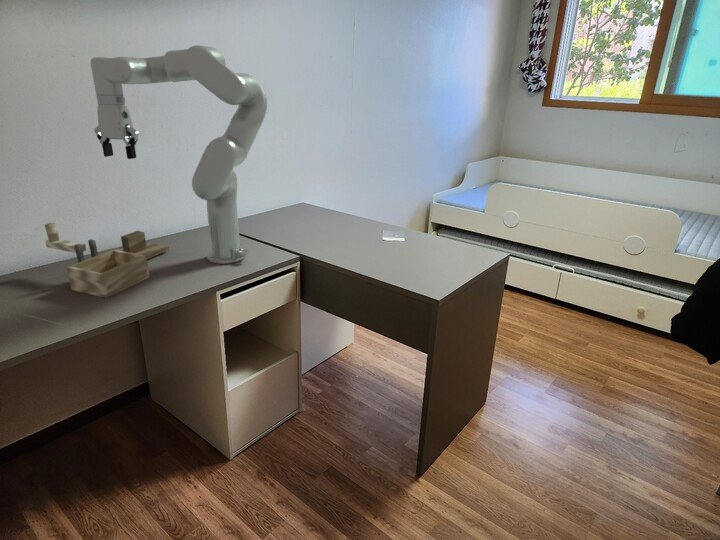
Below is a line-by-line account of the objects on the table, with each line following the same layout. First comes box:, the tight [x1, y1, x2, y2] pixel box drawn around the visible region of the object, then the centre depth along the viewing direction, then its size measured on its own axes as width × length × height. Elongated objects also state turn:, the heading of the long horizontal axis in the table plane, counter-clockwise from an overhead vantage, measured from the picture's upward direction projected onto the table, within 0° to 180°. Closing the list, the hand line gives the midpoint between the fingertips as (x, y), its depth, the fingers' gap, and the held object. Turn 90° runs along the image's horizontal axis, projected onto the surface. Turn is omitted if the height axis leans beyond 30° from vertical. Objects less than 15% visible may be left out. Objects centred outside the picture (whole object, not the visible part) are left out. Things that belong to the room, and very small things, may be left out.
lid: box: [117, 230, 170, 260], centre depth 157 cm, size 13×16×8 cm
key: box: [44, 222, 87, 254], centre depth 139 cm, size 13×3×7 cm, turn 69°
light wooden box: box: [66, 239, 150, 299], centre depth 136 cm, size 15×16×12 cm
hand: (120, 157), depth 151 cm, fingers open, 9 cm apart
